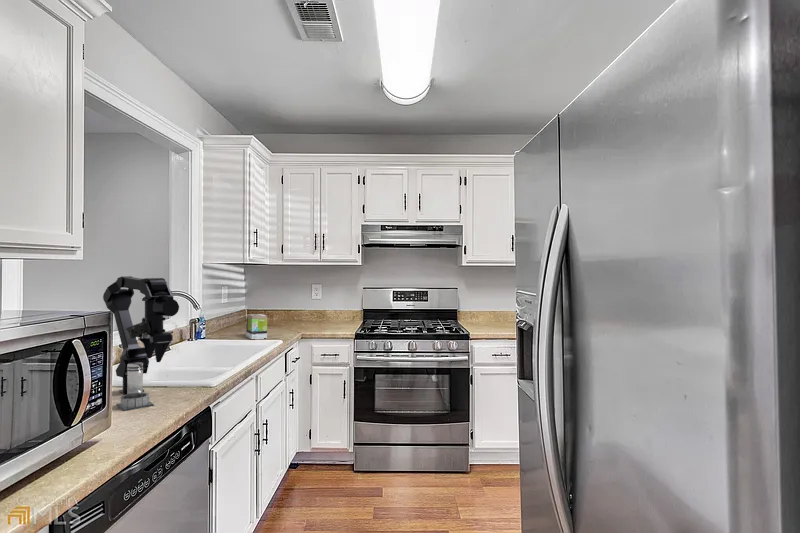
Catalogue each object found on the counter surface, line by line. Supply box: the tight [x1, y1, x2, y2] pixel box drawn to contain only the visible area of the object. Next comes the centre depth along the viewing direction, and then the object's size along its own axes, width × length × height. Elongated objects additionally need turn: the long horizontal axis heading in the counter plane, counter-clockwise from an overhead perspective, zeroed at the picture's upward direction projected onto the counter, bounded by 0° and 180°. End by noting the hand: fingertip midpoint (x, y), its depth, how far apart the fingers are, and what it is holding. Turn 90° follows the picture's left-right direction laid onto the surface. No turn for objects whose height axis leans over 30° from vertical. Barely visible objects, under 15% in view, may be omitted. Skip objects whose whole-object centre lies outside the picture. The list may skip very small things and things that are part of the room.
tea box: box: [245, 313, 268, 340], centre depth 304 cm, size 15×10×15 cm, turn 30°
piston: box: [127, 362, 144, 399], centre depth 156 cm, size 5×5×13 cm
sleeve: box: [116, 392, 155, 412], centre depth 156 cm, size 9×9×3 cm
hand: (153, 360), depth 164 cm, fingers open, 9 cm apart
